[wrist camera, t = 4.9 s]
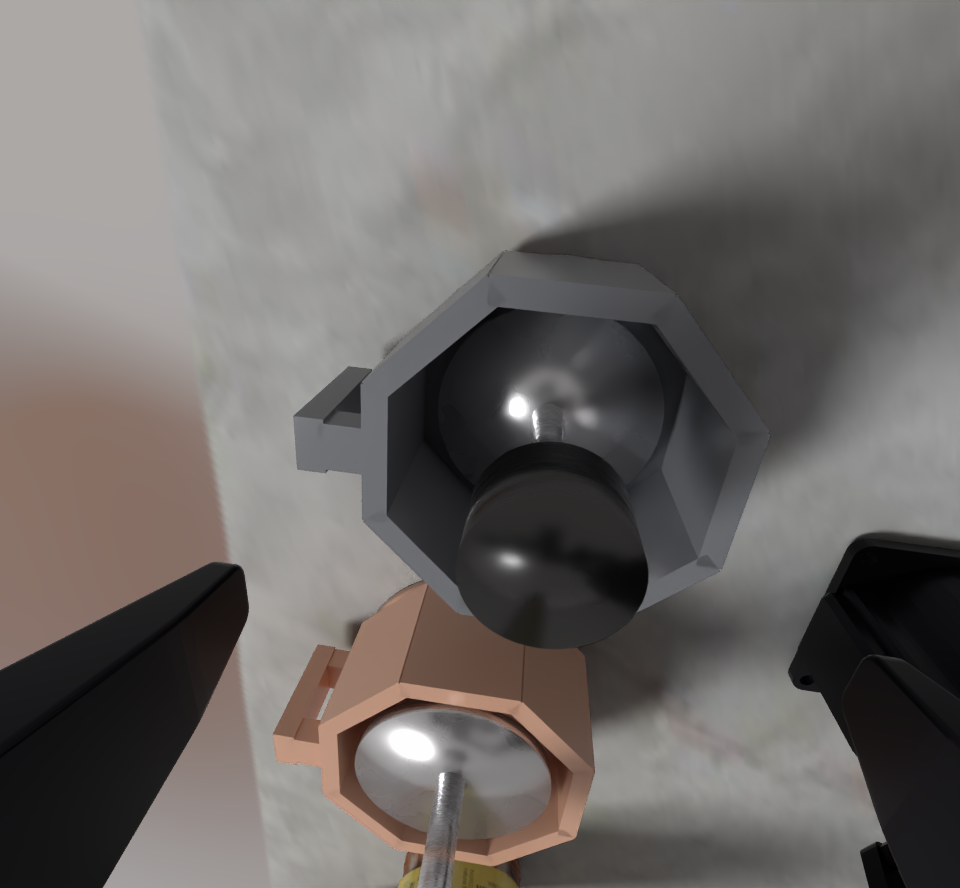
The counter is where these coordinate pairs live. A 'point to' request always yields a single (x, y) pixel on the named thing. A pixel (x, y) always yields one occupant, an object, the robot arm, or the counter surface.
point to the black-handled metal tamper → (452, 776)
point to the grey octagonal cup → (447, 493)
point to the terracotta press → (449, 680)
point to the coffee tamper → (551, 473)
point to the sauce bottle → (466, 874)
